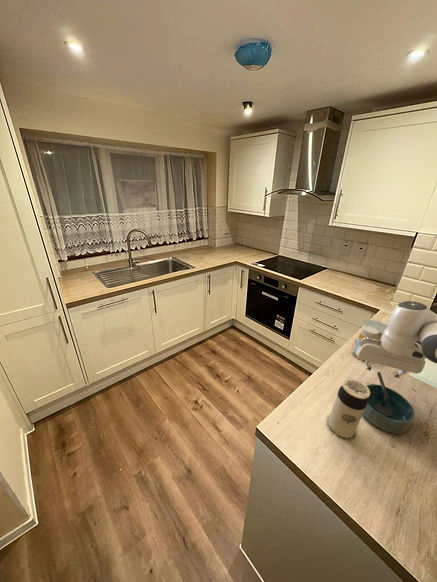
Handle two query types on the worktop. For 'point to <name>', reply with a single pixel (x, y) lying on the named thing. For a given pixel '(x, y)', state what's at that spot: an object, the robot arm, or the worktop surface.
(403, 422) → the bowl
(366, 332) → the bottle
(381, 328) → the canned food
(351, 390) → the travel mug
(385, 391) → the ladle
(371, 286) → the worktop surface
